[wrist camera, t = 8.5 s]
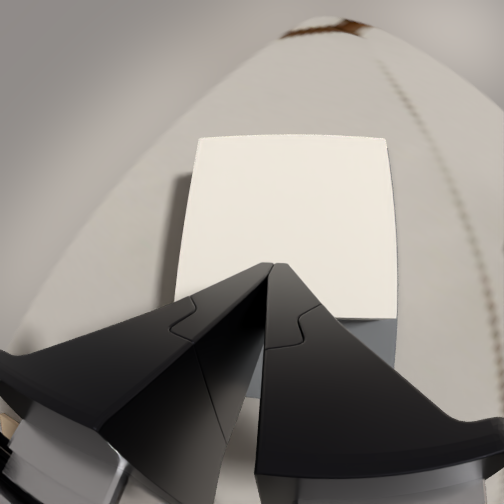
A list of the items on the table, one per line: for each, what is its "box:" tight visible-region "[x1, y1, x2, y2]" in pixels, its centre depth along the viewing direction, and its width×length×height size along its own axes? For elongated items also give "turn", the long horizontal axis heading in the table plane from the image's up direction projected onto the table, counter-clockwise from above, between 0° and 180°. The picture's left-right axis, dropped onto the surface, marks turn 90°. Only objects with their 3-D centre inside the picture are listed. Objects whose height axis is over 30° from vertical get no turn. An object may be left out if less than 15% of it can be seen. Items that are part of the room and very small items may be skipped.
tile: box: [174, 134, 397, 320], centre depth 15 cm, size 3×10×9 cm
